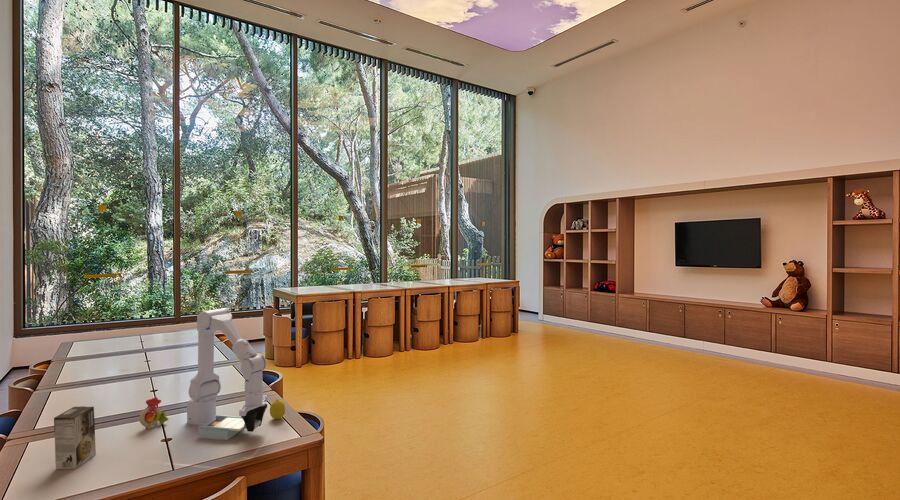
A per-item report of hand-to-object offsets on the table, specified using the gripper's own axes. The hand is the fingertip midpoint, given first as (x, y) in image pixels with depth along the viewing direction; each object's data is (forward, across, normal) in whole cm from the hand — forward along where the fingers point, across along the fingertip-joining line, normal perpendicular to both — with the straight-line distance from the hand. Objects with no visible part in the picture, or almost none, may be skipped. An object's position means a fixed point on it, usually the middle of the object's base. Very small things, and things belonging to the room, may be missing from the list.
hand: (254, 428), depth 167 cm
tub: (+3, 0, +12) cm, 13 cm away
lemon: (+3, +15, 0) cm, 15 cm away
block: (+2, +2, +16) cm, 16 cm away
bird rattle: (+3, +2, +42) cm, 42 cm away
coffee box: (+3, -26, +44) cm, 52 cm away
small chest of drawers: (-1, 0, +6) cm, 6 cm away
